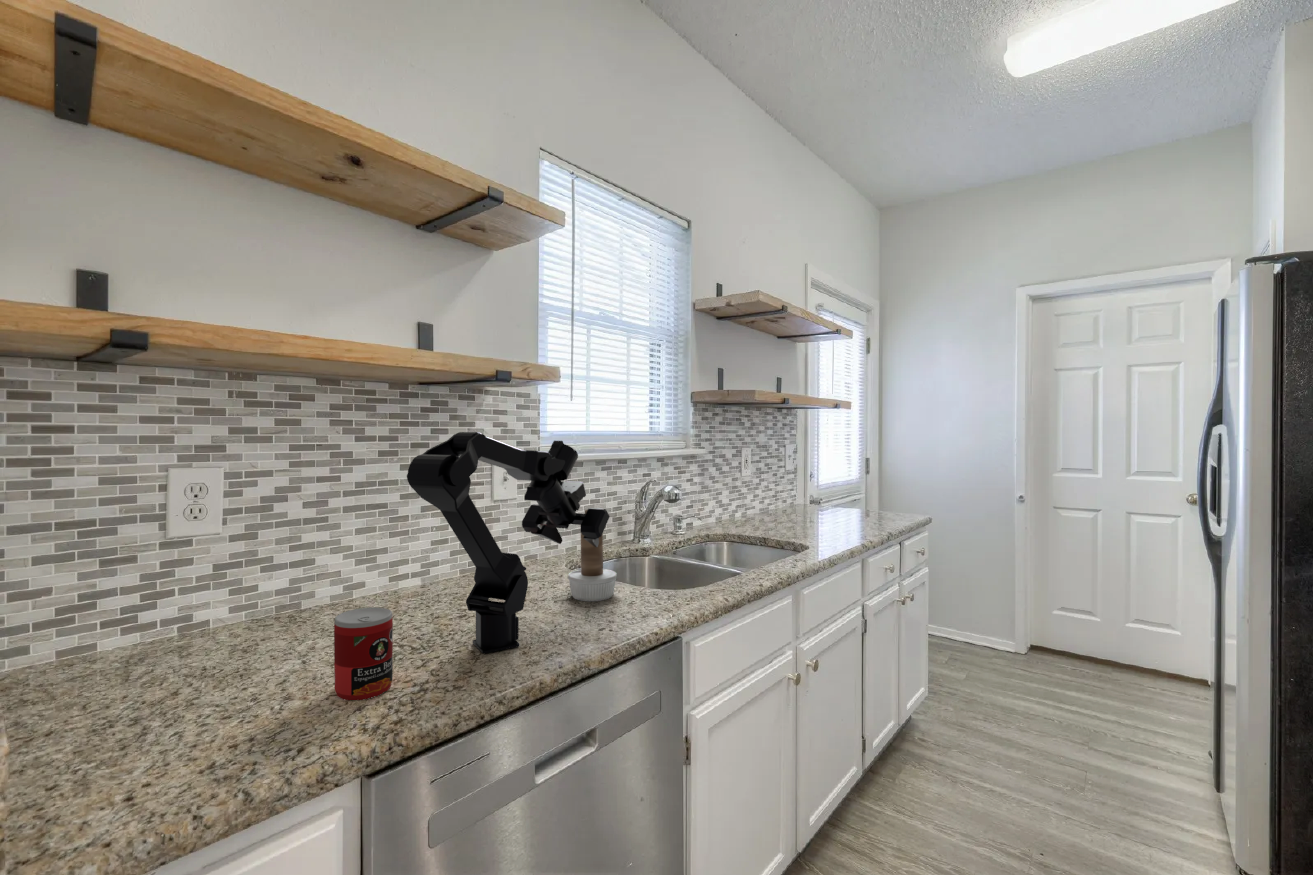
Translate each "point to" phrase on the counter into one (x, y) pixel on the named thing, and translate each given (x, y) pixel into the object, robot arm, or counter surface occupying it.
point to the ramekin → (592, 585)
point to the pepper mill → (591, 557)
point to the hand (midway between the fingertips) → (578, 543)
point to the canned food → (363, 653)
